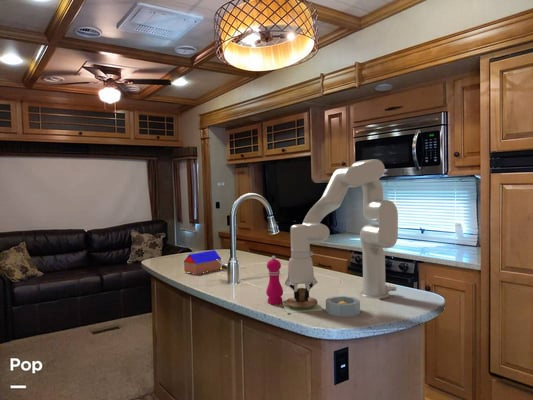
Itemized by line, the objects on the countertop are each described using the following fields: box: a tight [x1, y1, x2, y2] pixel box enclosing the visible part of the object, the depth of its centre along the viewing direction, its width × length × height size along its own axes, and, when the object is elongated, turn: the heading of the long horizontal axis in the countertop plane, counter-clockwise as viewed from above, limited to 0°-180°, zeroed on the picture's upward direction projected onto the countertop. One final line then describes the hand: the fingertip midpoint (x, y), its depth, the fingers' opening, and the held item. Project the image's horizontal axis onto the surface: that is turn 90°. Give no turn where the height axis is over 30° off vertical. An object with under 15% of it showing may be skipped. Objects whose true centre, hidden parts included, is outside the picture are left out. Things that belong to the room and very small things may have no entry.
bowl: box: [325, 295, 361, 318], centre depth 149 cm, size 12×12×5 cm
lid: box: [285, 287, 318, 308], centre depth 158 cm, size 13×13×6 cm
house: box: [183, 249, 222, 275], centre depth 238 cm, size 12×20×12 cm, turn 139°
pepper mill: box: [265, 255, 284, 305], centre depth 166 cm, size 7×7×20 cm
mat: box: [281, 301, 324, 315], centre depth 158 cm, size 14×14×1 cm
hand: (301, 299), depth 158 cm, fingers closed on lid, 3 cm apart
